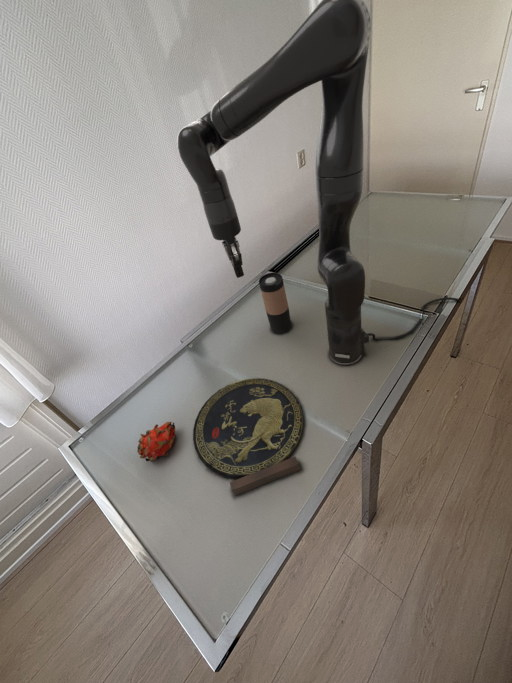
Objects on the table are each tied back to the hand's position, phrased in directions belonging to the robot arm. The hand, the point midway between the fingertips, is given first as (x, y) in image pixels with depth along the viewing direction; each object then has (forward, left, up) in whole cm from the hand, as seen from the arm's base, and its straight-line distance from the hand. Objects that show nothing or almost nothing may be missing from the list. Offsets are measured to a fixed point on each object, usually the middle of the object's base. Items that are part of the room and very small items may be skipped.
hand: (240, 275), depth 91 cm
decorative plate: (+12, +29, -27) cm, 41 cm away
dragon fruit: (+36, +26, -27) cm, 52 cm away
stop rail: (+12, +45, -27) cm, 54 cm away
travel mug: (-9, -4, -27) cm, 29 cm away
